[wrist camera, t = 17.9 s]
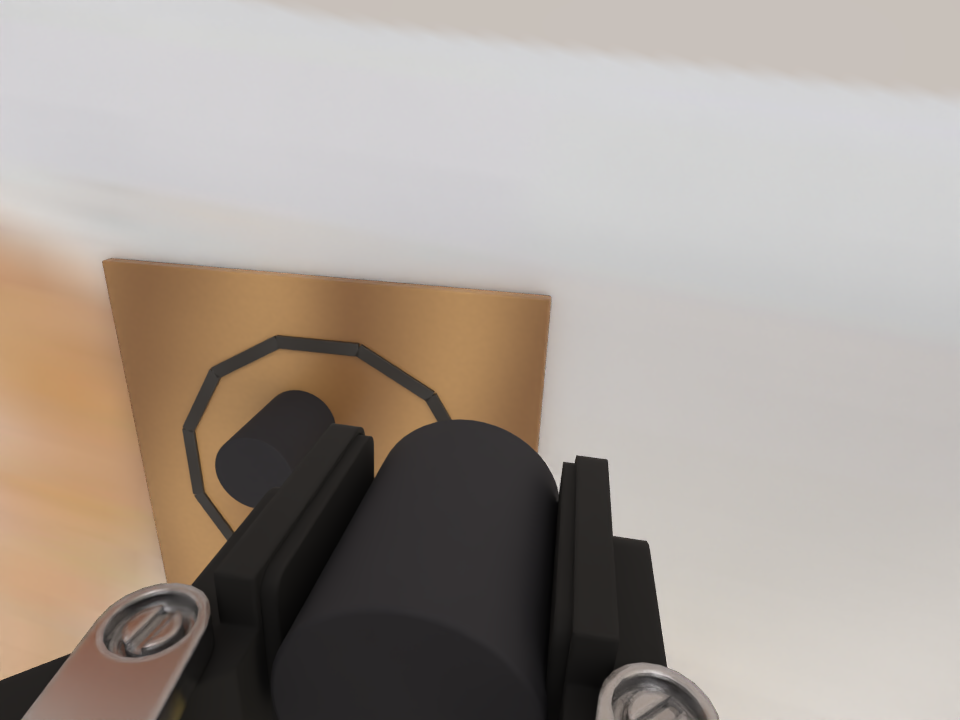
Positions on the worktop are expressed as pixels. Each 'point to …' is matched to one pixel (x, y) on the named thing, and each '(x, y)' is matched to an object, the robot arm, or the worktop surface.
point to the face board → (305, 372)
